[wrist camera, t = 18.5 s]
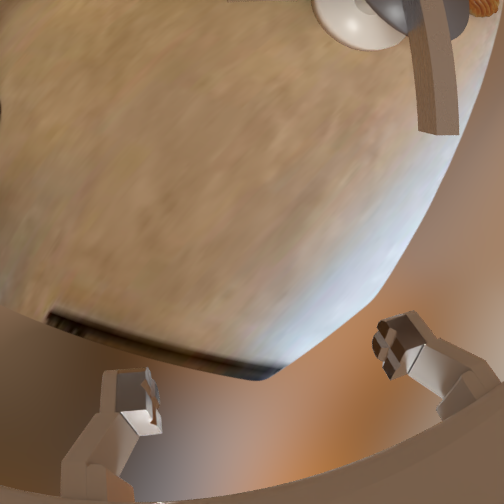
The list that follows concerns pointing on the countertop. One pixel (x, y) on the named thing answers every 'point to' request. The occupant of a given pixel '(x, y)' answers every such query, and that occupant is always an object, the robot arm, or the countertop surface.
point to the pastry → (483, 7)
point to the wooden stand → (257, 0)
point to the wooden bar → (432, 66)
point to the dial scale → (377, 21)
